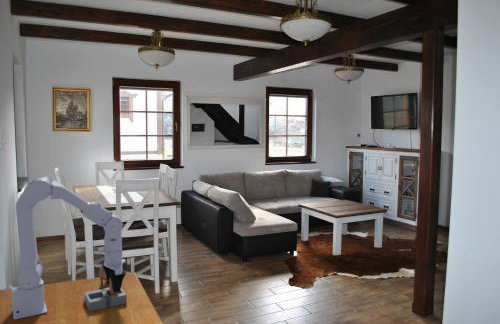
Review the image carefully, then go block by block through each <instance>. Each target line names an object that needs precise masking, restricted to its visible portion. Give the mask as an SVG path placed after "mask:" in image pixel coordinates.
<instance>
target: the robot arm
mask: <svg viewBox="0 0 500 324" xmlns="http://www.w3.org/2000/svg"><path fill="white" fill-rule="evenodd" d="M49 197H50V198H49ZM48 198H49V199H50V200H62V201H64V202H65V203H68V204H70V205H71V206H73V207H74V208H76V209H79V211H82V214H83V217H84V218H86V219H87V220H89V221H91V222H92V223H94V224H96V225H97V226H99V227H103V231H104V237H103V238H104V239H103V242H104V243H103V245H104V246H103V247H104V251H103V252H104V253H103V254H104V262H103V263H102V264H101V266H103V268H104V270H105V273H106V277H107V279H106V283H107V282H108V284H110V283H109V278H110V279H111V283H112V289H113V292H114V293H115V292H120V290H121V288H122V286H123V285H122V284H123V280H124V278H125V276H126V274H127V271H126V270H123V264H125V263H126V262H127V261H126V259H123V241H122V240H123V237H122V229H123V225H122V224H123V223H122V219H121V217H120V215H118V214H117V213H116V212H114V211H112V210H110V211H109V210H108V209H107V208H105V207H103V206H102V203H101V202H95V201H91V202H88V201H86V200H85V199H84V198H83V197H81V196H80V195H77V194H76V193H75V192H74V191H72V190H71V189H69V188H67V187H66V186H65V185H63V184H61V183H60V182H58V181H57V180H54V179H53V180H52V178H50V177H49V176H46V175H41V176H37V177H36V178H35V179H32V181H31V182H30V183H29V184H28V185H27V186H26V187H25V189H24V190H23V191H22V193H21V195H20V196H19V198H18V200H17V201H16V202H15V212H16V213H15V214H16V223H17V236H18V244H19V255H20V261H19V262H20V263H19V274H18V276H17V280H16V281H17V284H18V285H17V286H15V287H12V288H11V301H12V302H11V303H12V304H11V308H10V309H11V312H12V315H13V317H12V318H13V320H19V319H23V318H29V317H33V316H36V315H42V314H46V313H48V309H47V305H46V302H45V285H44V284H45V283H44V280H43V278H42V274H43V272H44V266H43V264H42V263H41V260H40V256H39V254H38V246H37V244H38V243H37V233H36V223H35V212H34V211H35V210H34V207H36V205H37V204H39V203H40V202H42V201H43V200H47V199H48Z"/></svg>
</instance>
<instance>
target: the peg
mask: <svg viewBox="0 0 500 324" xmlns="http://www.w3.org/2000/svg"><path fill="white" fill-rule="evenodd" d="M109 283H110V285H109V287H110V295H115V294H119V292H115V293H114V292H113V289H112V283H111V279H110V278H109Z"/></svg>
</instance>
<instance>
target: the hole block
mask: <svg viewBox="0 0 500 324" xmlns="http://www.w3.org/2000/svg"><path fill="white" fill-rule="evenodd" d="M83 294H84V302H85V304H86V306H87V309H88V311H89V312H92V311H98V310H99V311H100V310H102V309H103V310H104V309H107V308H111V307H116V306H120V305H125V304H127V301H128V300H127V294H126V292H125V291H124V289H123V288H122V287H121V290H120V292H119V294H115V295H110V286H109V287H105V288H101V289H95V290H90V291H85V292H84V293H83Z"/></svg>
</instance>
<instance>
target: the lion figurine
mask: <svg viewBox="0 0 500 324" xmlns="http://www.w3.org/2000/svg"><path fill="white" fill-rule="evenodd" d="M98 277H99V281H100V284H99V286H100V287H103V286H104V280H107V277H106V273H105V270H104V268H103V266H102V265H100V266H99V269H98ZM106 285H107V286H110V284H108V282H107V281H106Z"/></svg>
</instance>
